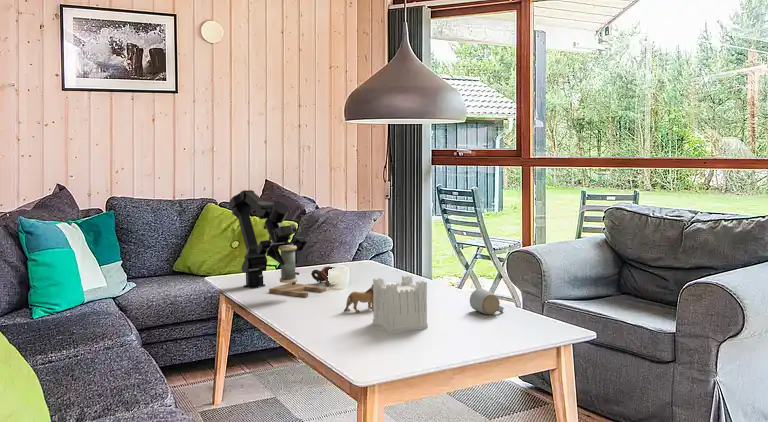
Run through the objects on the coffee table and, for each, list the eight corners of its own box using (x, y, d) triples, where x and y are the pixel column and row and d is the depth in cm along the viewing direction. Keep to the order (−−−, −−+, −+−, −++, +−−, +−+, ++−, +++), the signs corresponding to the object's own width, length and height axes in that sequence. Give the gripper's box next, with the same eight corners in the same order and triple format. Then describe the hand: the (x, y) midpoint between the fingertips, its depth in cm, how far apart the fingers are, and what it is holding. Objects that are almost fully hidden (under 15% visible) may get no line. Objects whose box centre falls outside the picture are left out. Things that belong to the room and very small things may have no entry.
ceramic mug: (482, 316, 217) (483, 293, 216) (468, 311, 224) (469, 289, 224) (509, 313, 222) (509, 291, 221) (494, 308, 229) (495, 286, 228)
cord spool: (276, 281, 243) (275, 246, 242) (286, 278, 249) (286, 244, 247) (290, 283, 240) (289, 248, 239) (300, 280, 246) (300, 245, 244)
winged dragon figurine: (338, 282, 279) (342, 267, 275) (335, 296, 271) (340, 281, 267) (310, 275, 278) (314, 260, 274) (307, 289, 270) (311, 274, 266)
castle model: (372, 322, 211) (372, 278, 209) (414, 317, 217) (414, 274, 215) (389, 332, 199) (389, 285, 198) (433, 327, 205) (433, 281, 204)
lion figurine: (378, 306, 233) (378, 281, 232) (385, 309, 228) (385, 283, 228) (340, 311, 226) (340, 285, 225) (347, 314, 222) (347, 288, 221)
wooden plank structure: (269, 292, 257) (268, 276, 257) (290, 286, 268) (290, 270, 268) (305, 297, 248) (305, 280, 247) (326, 291, 259) (326, 274, 258)
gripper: (259, 219, 240) (273, 253, 232) (304, 215, 251) (319, 248, 243) (250, 238, 247) (264, 271, 239) (294, 234, 258) (309, 266, 250)
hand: (289, 263), depth 243 cm, fingers closed on cord spool, 5 cm apart
